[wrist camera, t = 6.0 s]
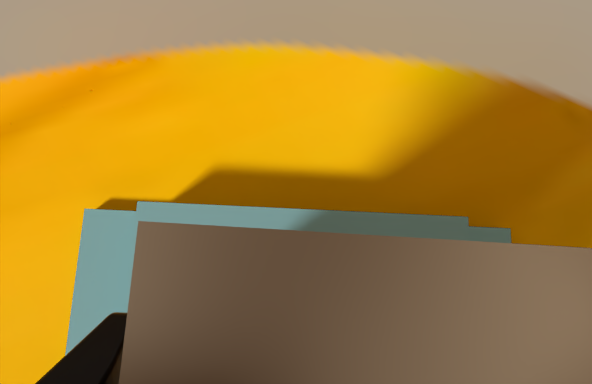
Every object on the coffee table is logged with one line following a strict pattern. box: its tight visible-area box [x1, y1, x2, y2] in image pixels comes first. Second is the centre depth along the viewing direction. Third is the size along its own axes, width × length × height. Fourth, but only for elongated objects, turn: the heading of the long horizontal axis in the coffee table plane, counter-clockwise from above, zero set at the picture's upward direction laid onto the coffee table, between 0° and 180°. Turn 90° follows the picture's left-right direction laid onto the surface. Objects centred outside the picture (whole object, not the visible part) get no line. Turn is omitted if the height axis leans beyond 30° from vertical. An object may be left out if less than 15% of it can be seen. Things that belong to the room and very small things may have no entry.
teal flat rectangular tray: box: [65, 201, 511, 355], centre depth 16 cm, size 14×10×2 cm
